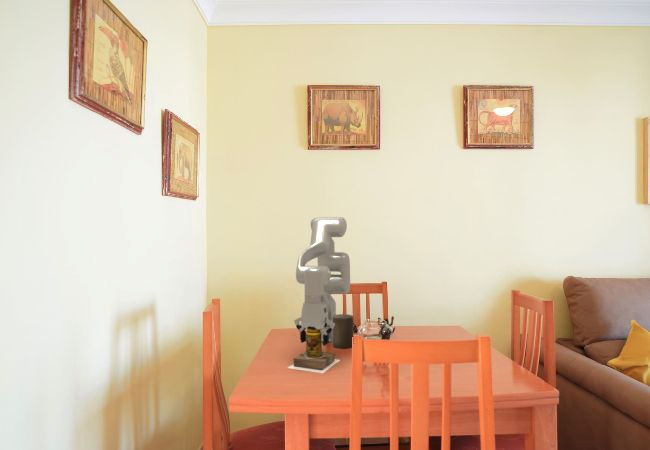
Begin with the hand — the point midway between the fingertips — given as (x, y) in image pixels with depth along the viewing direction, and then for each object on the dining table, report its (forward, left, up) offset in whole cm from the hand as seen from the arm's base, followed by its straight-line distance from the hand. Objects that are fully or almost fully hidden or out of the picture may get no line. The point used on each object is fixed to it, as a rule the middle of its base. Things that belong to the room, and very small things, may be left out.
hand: (314, 343), depth 160 cm
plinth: (0, 0, -8) cm, 8 cm away
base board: (0, 0, -9) cm, 9 cm away
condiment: (-1, -1, -5) cm, 5 cm away
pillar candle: (-31, 0, -9) cm, 32 cm away
